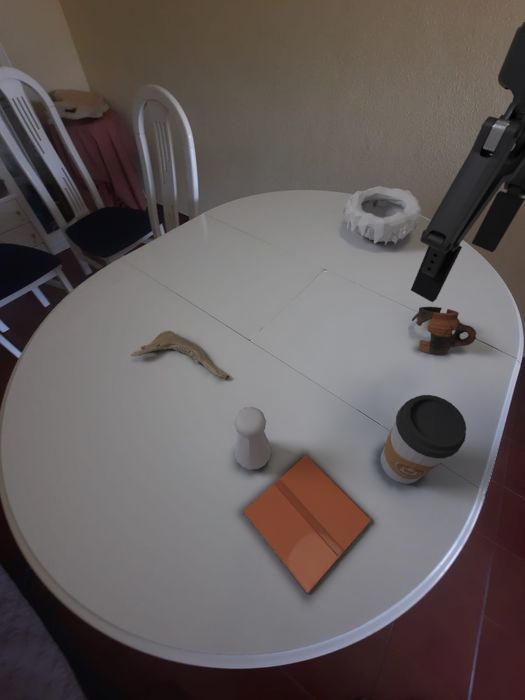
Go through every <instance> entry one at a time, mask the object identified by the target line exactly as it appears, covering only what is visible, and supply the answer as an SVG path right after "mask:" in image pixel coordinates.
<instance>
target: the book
mask: <svg viewBox="0 0 525 700" xmlns="http://www.w3.org/2000/svg"><path fill="white" fill-rule="evenodd" d="M243 514H245V516H246V517H247V519H248V520H249V521H250V522H251V524H252V525H253V526H254V527H255V529H256V530H257V531H258V533H259V534H260V535H261V536H262V538H263V539H264V540H265V542H266V543H267V544H268V545H269V547H270V548H271V550H272V551H273V552H274V553H275V554H276V556H277V557H278V558H279V559H280V561H281V563H283V565H284V566H285V567H286V568H287V570H288V571H289V572H290V573H291V575H292V576H293V577H294V579H295V580H296V581H297V583H298V584H299V585H300V586H301V588H302V589H303V590H304V591H305V593H306V594H309V593H310V592H311V591H312V589H313V588H314V587H315V586H316V585H317V584H318V582H319V581H321V579H322V578H323V577H324V576H325V574H326V573H327V572H329V570H330V569H331V567H333V565H334V564H335V563H336V561H337V560H339V558H341V556H342V555H343V554H344V552H345V551H346V550H347V549H348V548H349V547H350V546H351V545H352V543H354V541H355V540H356V538H357V537H358V536H360V534H361V533H362V531H364V529H365V528H366V527H367V526H368V525H369V523H370V522H371V520H372V519H370V518H369V517H368V516H367V514H365V512H364V511H362V509H361V508H360V507H358V506H357V504H355V502H354V501H352V500H351V499H350V497H349V496H348V495H346V493H345V492H344V491H343V490H341V488H339V486H337V484H336V483H335V482H334V481H333V480H331V478H330V477H329V476H328V475H327V474H326V473H325V472H324V471H323V470H322V469H321V468H320V467H319V466H318V465H317V464H316V463H315V462H314V461H313V460H312V459H311V458H310V457H309V456H308V455H307V454H305V455H304V456H303V457H302V458H300V459H299V460H298V461H297V462H296V463H295V464H294V465H293V466H291V468H290V469H288V470H287V471H286V472H285V473H284V474H283V475H282V476H281V477H280V478H279V479H277V480H276V482H274V483H273V484H272V485H271V486H270V487H269V488H268V489H267V490H266V491H264V492H263V493H262V494H261V495H260V496H259V497H257V498H256V500H254V502H252V503H251V504H250V505H249V506H248V507H247V508H245V510H244V511H243Z"/></svg>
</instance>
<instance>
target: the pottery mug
mask: <svg viewBox="0 0 525 700" xmlns="http://www.w3.org/2000/svg"><path fill="white" fill-rule="evenodd" d="M442 310H443V308H442V307H439V306H421V307H419V308H418V312H417V313H416V314H415V315H413V317H412V319H411V321H412V322H414V321H415V320H416V325H417V326H419V327H421V326H422V325H423V323H426V322H427V321H429V323H428V324H427V326H426V328H427V331H428V332H429V333H430V340H423V339H420V340H419V341H418V350H419V351H421V352H424V353H429V354H434V355H446V354H448V353H449V351H450V350H451V348H452V349H454V348H457V347H466V346H469V345H471V344H473V343H474V342H475V340H477V337H476V335H477V331H476V330H475V328H474V327H473V326H471V325H467V324H463V323H462V322H460V319H459V318H458V317H459V315H460V313H459V312H458V311H456V310H454V309H450V308H447V309H446V312H441V311H442ZM463 333H466V334H467V337H465V338H461V334H463Z"/></svg>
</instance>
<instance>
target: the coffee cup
mask: <svg viewBox="0 0 525 700" xmlns="http://www.w3.org/2000/svg"><path fill="white" fill-rule="evenodd" d="M466 435H467V424H466V420H465V418H464V416H463V414H462V413H461V411H460V410H459V409H458V408H457V407H456V406H455V405H454V404H453V403H451V402H450V401H448V400H446V399H445V398H443V397H440V396H437V395H433V394H422V395H417V396H415V397H413V398H409V400H407V401H405V402H404V404H402V405H401V407H400V408H399V410H398V411H397V414H396V416H395V422H394V424H393V426H392V427H391V429H390V432H389V434H388V436H387V439H386V441H385V444H384V447H383V450H382V452H381V454H380V455H381V456H380V463H381V467H382V469H383V471H384V473H385V474H386V475H387V476H388V477H389V478H390V479H391V480H393V481H395V482H397V483H401V484H405V485H406V484H413V483H416V482H417V481H419V479H421V478H423V477H425V476H426V475H428V474H429V473H430V472H431V471H433V470H434V469H435V468H436V467H438V466H439V465H441V464H442V463H443V461H444V460H446V459H448V458H449V457H452V456H454V455H455V454H456V453H458V452H459V451H460V449H461V447H462V446H463V445H464V443H465V441H466Z"/></svg>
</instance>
